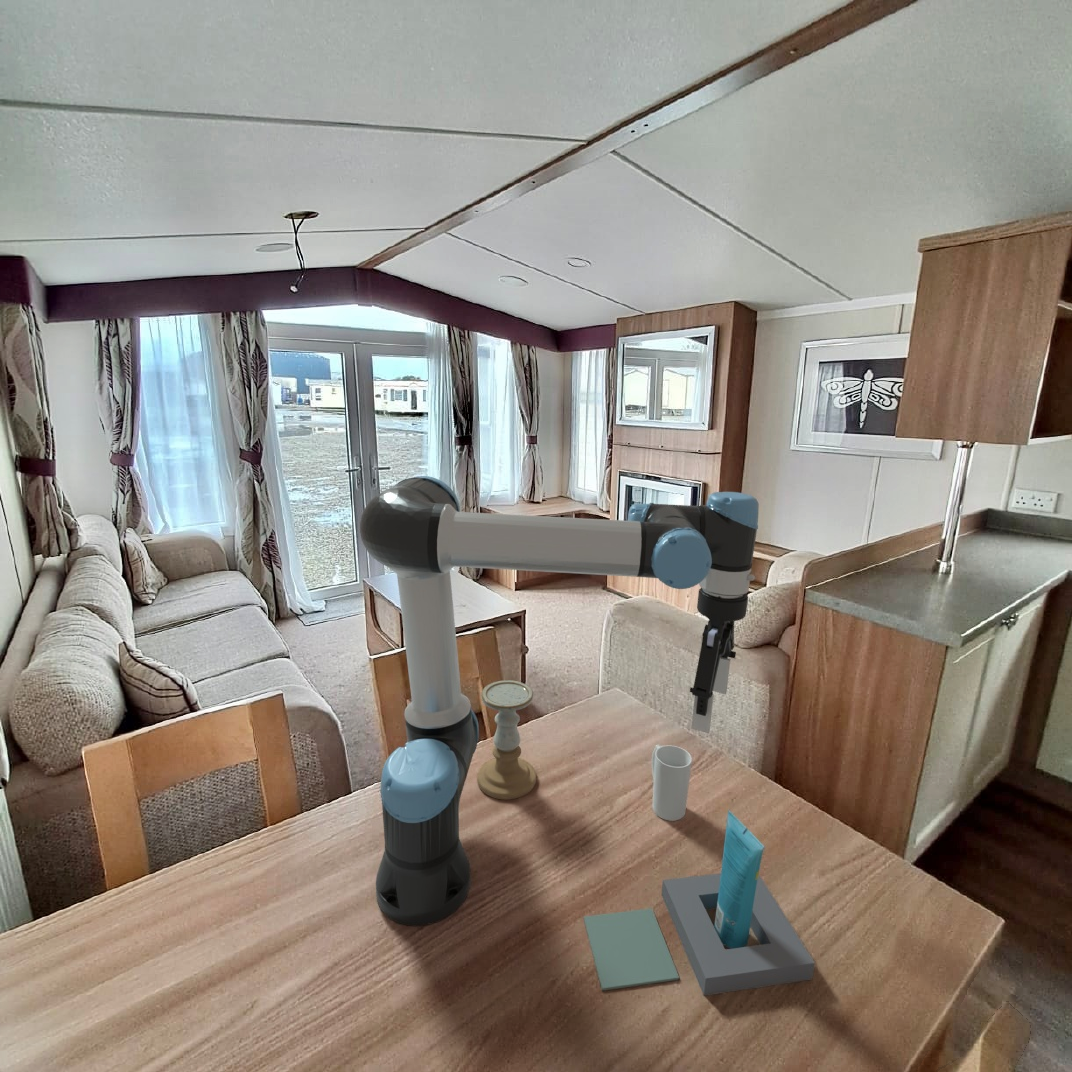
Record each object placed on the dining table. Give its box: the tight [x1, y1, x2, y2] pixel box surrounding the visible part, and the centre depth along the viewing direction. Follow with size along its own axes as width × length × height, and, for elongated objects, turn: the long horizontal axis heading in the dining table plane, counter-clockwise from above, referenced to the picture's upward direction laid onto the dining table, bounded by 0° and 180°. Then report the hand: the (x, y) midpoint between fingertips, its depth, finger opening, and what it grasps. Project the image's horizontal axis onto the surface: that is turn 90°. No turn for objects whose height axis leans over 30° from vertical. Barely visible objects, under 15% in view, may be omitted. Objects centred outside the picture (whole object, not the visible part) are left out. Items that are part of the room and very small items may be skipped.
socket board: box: [661, 872, 816, 996], centre depth 87 cm, size 16×16×3 cm
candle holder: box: [476, 679, 537, 800], centre depth 117 cm, size 12×12×20 cm
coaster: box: [583, 908, 680, 991], centre depth 85 cm, size 11×11×1 cm
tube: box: [713, 809, 765, 949], centre depth 85 cm, size 7×5×19 cm, turn 26°
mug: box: [651, 743, 693, 822], centre depth 112 cm, size 10×7×12 cm, turn 20°
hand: (709, 709), depth 97 cm, fingers open, 13 cm apart
